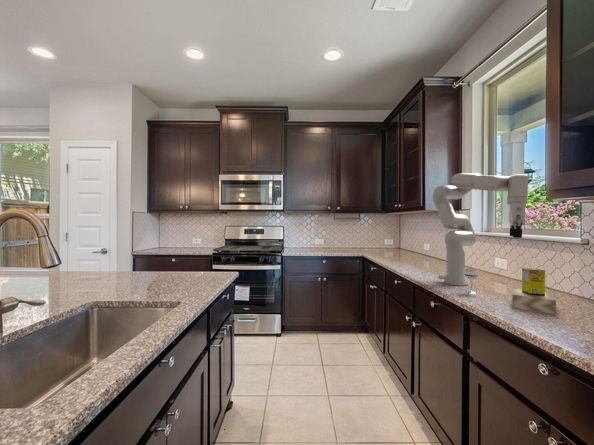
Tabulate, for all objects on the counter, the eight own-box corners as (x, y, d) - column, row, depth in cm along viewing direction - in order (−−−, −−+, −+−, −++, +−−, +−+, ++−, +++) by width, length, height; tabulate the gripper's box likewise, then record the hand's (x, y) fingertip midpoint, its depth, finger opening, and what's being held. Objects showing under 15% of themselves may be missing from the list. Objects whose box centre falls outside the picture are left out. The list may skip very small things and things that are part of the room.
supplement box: (545, 296, 121) (545, 270, 121) (528, 295, 122) (529, 269, 122) (537, 292, 127) (537, 268, 127) (521, 291, 128) (521, 267, 128)
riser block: (512, 308, 123) (512, 294, 123) (512, 301, 135) (512, 288, 134) (555, 315, 115) (555, 300, 115) (552, 306, 126) (552, 293, 126)
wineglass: (482, 293, 146) (482, 270, 146) (472, 294, 144) (472, 271, 144) (470, 290, 153) (470, 268, 153) (460, 291, 151) (461, 268, 151)
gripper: (531, 200, 126) (529, 238, 127) (523, 201, 141) (521, 236, 142) (510, 200, 130) (508, 237, 130) (504, 201, 145) (503, 235, 146)
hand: (515, 236), depth 136 cm, fingers open, 9 cm apart
